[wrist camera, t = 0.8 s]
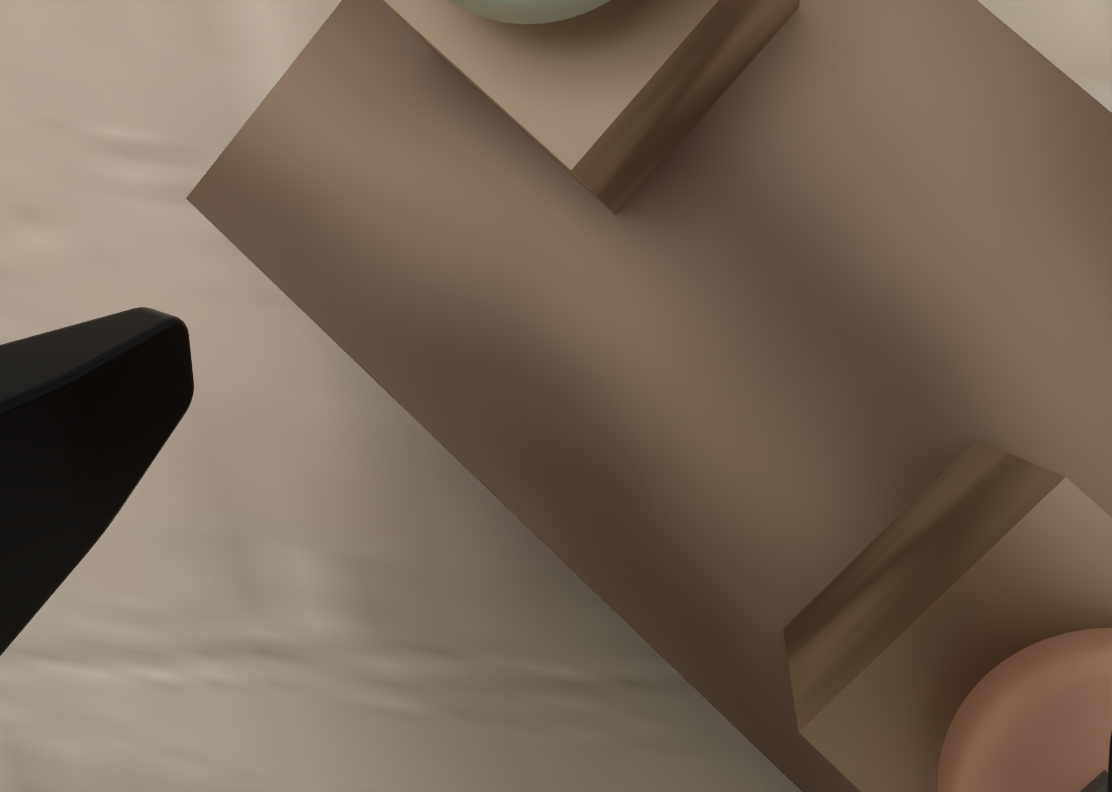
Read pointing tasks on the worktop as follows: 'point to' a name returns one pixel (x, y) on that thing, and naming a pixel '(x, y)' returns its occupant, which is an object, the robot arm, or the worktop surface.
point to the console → (732, 326)
